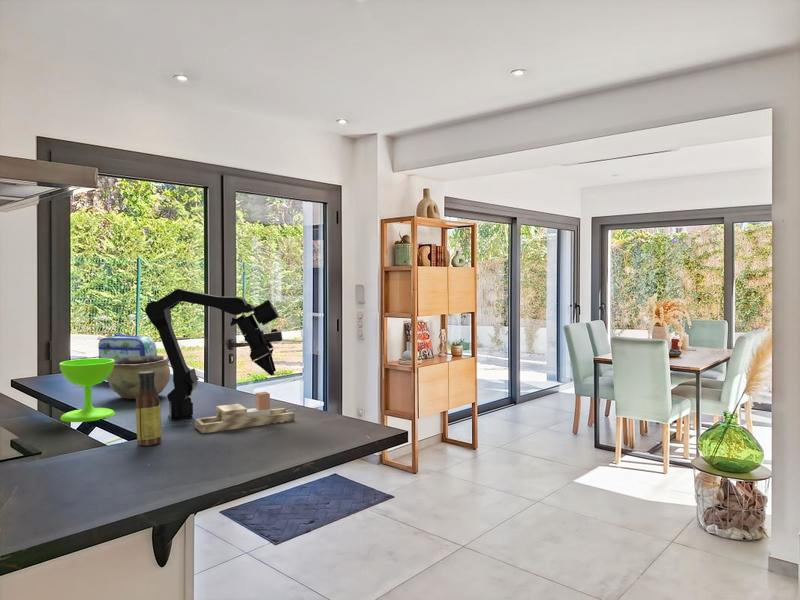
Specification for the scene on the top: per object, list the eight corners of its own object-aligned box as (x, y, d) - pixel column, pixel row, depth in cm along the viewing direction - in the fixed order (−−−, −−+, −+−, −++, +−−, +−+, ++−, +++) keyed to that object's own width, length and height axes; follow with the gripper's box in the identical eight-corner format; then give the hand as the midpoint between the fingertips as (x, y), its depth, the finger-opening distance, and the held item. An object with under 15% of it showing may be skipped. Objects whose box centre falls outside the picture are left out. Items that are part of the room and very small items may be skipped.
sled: (225, 424, 174) (225, 398, 174) (221, 421, 178) (221, 396, 177) (270, 418, 182) (270, 393, 182) (265, 415, 185) (265, 391, 185)
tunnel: (201, 433, 168) (201, 414, 168) (194, 427, 175) (194, 408, 175) (294, 420, 184) (294, 403, 184) (284, 415, 191) (284, 398, 191)
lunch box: (94, 382, 249) (93, 334, 248) (114, 378, 259) (114, 332, 258) (140, 386, 240) (140, 337, 239) (159, 382, 250) (159, 334, 249)
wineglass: (110, 420, 183) (109, 364, 182) (53, 423, 178) (52, 366, 178) (119, 409, 198) (119, 357, 198) (67, 412, 194) (66, 359, 193)
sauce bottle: (166, 441, 159) (166, 370, 159) (150, 447, 154) (149, 374, 153) (147, 439, 162) (147, 369, 161) (130, 445, 156) (130, 372, 155)
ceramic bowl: (176, 400, 214) (176, 360, 213) (112, 407, 202) (111, 364, 201) (163, 390, 232) (163, 353, 232) (103, 396, 220) (103, 357, 220)
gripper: (271, 321, 180) (295, 364, 181) (275, 319, 199) (296, 358, 200) (239, 338, 179) (263, 381, 180) (245, 334, 197) (267, 374, 198)
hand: (273, 373), depth 189 cm, fingers open, 9 cm apart
